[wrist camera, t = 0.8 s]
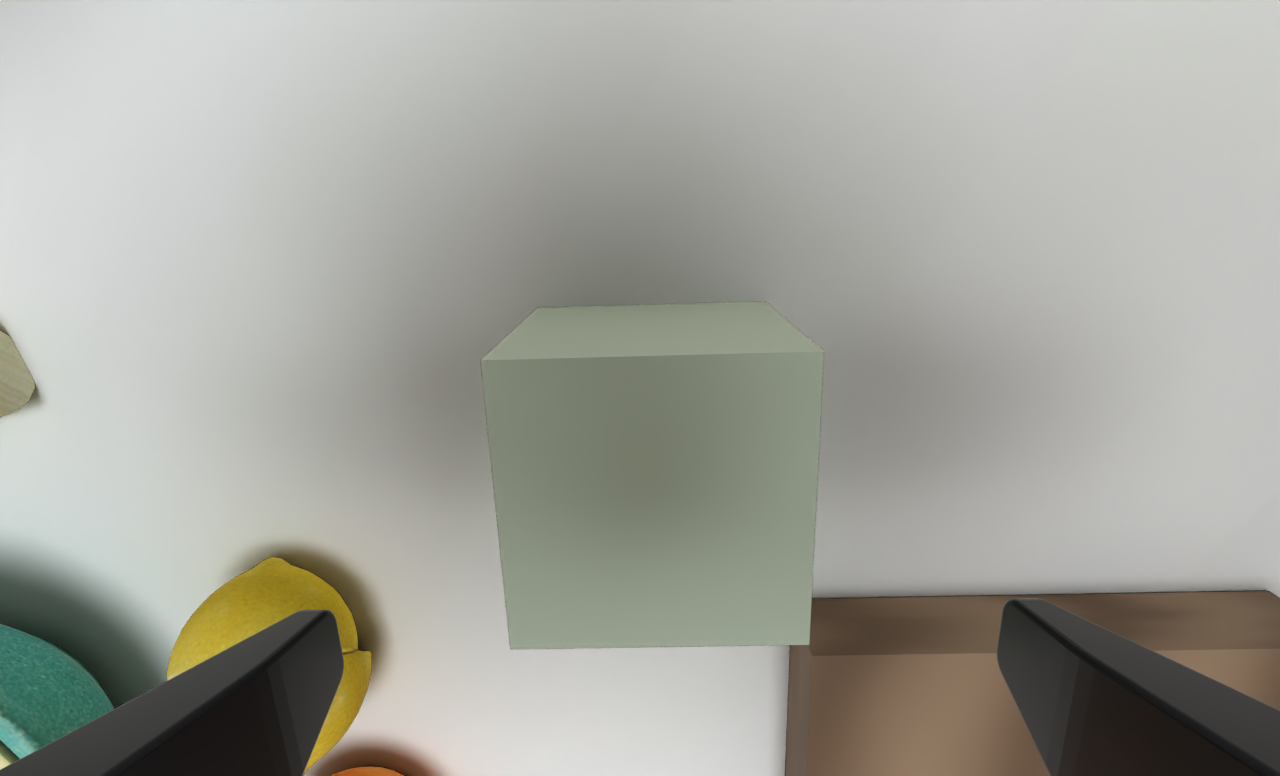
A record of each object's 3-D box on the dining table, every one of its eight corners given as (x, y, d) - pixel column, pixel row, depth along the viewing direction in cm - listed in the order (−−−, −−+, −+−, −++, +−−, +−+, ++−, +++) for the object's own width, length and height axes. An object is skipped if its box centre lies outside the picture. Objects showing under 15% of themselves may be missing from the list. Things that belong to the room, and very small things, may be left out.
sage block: (764, 300, 17) (823, 351, 11) (760, 507, 18) (809, 645, 13) (538, 306, 17) (480, 360, 11) (553, 511, 19) (510, 649, 13)
